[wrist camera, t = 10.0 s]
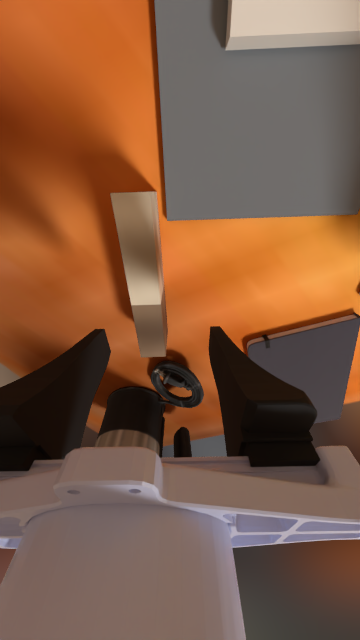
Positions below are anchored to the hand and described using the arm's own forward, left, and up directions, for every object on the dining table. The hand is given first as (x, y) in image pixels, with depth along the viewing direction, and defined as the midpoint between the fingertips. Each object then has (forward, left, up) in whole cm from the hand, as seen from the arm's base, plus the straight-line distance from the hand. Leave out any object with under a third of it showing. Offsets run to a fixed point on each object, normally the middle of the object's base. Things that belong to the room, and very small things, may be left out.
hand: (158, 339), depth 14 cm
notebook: (-19, +16, -9) cm, 26 cm away
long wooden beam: (+1, -1, -9) cm, 9 cm away
